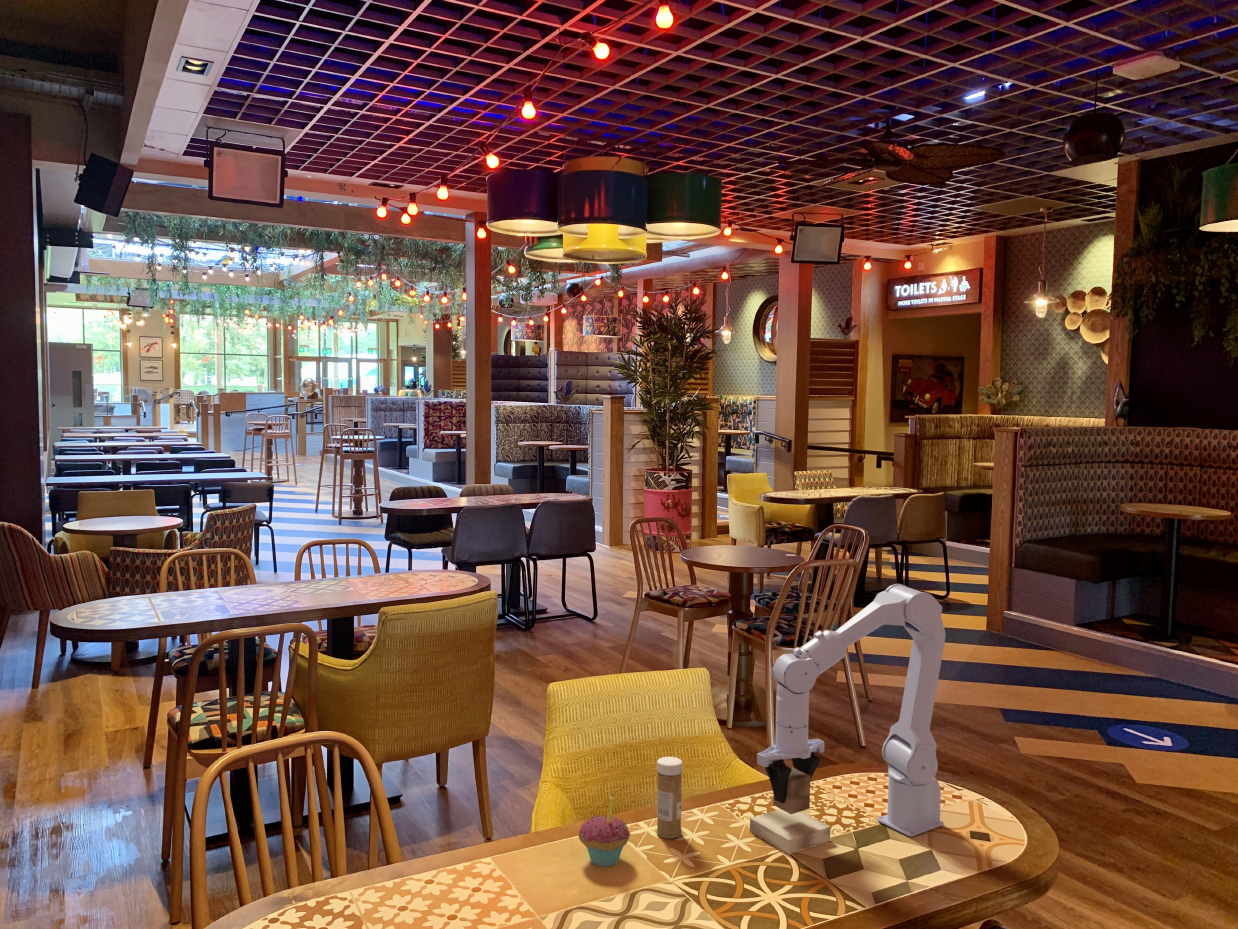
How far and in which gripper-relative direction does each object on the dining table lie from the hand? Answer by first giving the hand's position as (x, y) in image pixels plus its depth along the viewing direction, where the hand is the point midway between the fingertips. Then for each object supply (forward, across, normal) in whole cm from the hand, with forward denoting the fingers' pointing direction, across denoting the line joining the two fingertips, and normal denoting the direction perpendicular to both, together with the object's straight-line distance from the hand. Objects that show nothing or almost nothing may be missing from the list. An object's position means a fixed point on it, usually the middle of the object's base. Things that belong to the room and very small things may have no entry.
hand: (790, 798), depth 162 cm
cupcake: (+7, -33, +10) cm, 35 cm away
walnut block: (+2, 0, 0) cm, 2 cm away
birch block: (+8, 0, 0) cm, 8 cm away
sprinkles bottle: (+7, -18, +12) cm, 23 cm away
